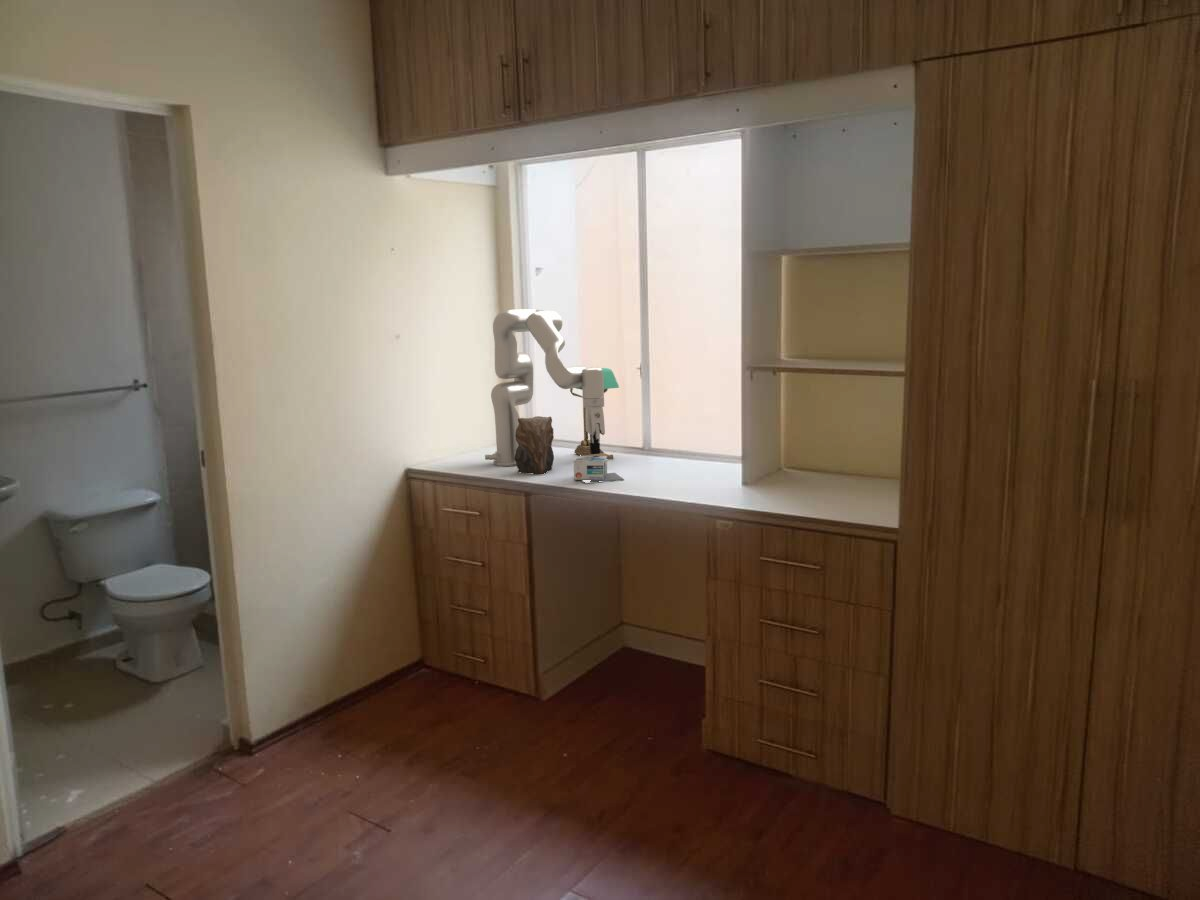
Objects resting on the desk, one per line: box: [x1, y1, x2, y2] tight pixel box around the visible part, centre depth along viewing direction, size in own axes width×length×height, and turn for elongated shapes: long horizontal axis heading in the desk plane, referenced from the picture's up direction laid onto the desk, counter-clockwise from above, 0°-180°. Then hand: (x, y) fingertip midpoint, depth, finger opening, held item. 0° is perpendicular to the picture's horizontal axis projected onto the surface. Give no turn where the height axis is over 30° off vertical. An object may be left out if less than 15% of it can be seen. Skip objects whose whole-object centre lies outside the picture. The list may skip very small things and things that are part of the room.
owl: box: [514, 415, 555, 475], centre depth 321 cm, size 13×13×20 cm
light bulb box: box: [573, 455, 608, 481], centre depth 306 cm, size 11×7×11 cm
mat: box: [590, 472, 625, 483], centre depth 305 cm, size 14×12×1 cm
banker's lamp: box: [570, 367, 620, 460], centre depth 343 cm, size 16×21×35 cm
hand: (595, 453), depth 309 cm, fingers closed
